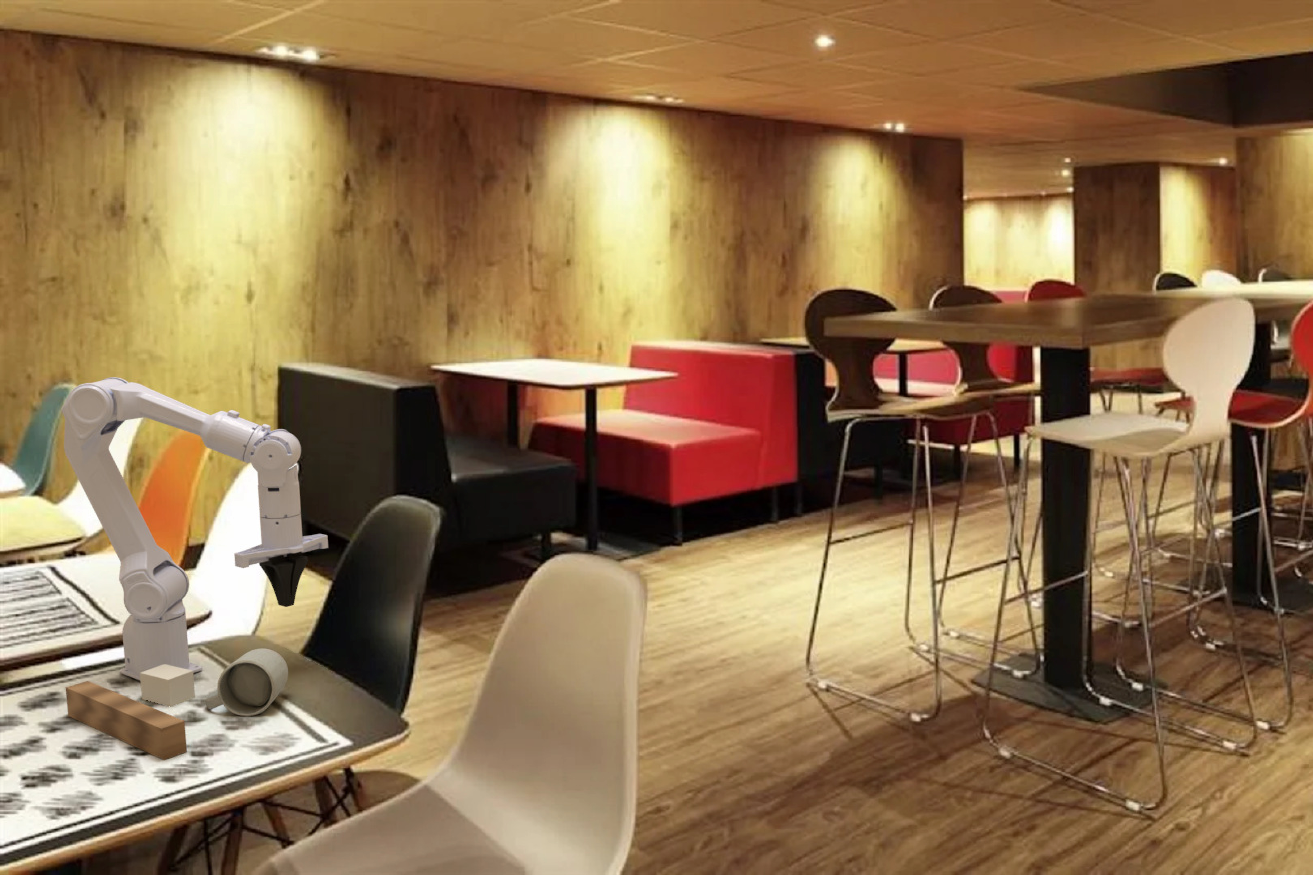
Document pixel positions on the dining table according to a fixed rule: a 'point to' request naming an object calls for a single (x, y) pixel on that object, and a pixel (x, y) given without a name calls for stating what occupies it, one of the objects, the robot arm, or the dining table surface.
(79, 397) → the robot arm
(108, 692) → the walnut rail
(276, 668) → the ceramic mug
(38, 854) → the dining table surface
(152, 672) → the beige rectangular block
